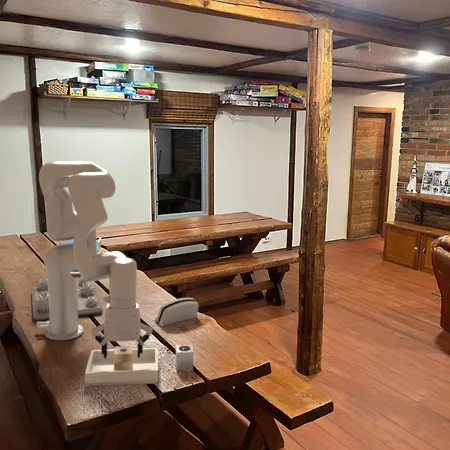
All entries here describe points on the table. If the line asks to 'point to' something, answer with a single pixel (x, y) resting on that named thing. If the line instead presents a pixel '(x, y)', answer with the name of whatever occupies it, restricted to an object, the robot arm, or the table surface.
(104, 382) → the sorting tray
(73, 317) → the robot arm
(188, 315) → the grey rounded slab
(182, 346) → the grey block
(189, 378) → the table surface
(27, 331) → the table surface
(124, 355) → the maple block
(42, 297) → the decorative tray
